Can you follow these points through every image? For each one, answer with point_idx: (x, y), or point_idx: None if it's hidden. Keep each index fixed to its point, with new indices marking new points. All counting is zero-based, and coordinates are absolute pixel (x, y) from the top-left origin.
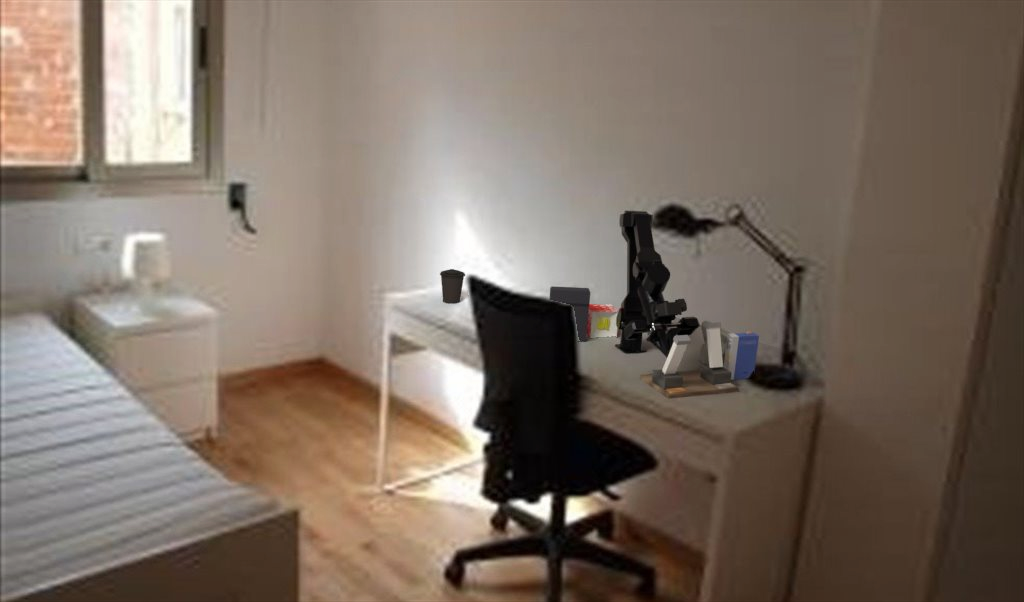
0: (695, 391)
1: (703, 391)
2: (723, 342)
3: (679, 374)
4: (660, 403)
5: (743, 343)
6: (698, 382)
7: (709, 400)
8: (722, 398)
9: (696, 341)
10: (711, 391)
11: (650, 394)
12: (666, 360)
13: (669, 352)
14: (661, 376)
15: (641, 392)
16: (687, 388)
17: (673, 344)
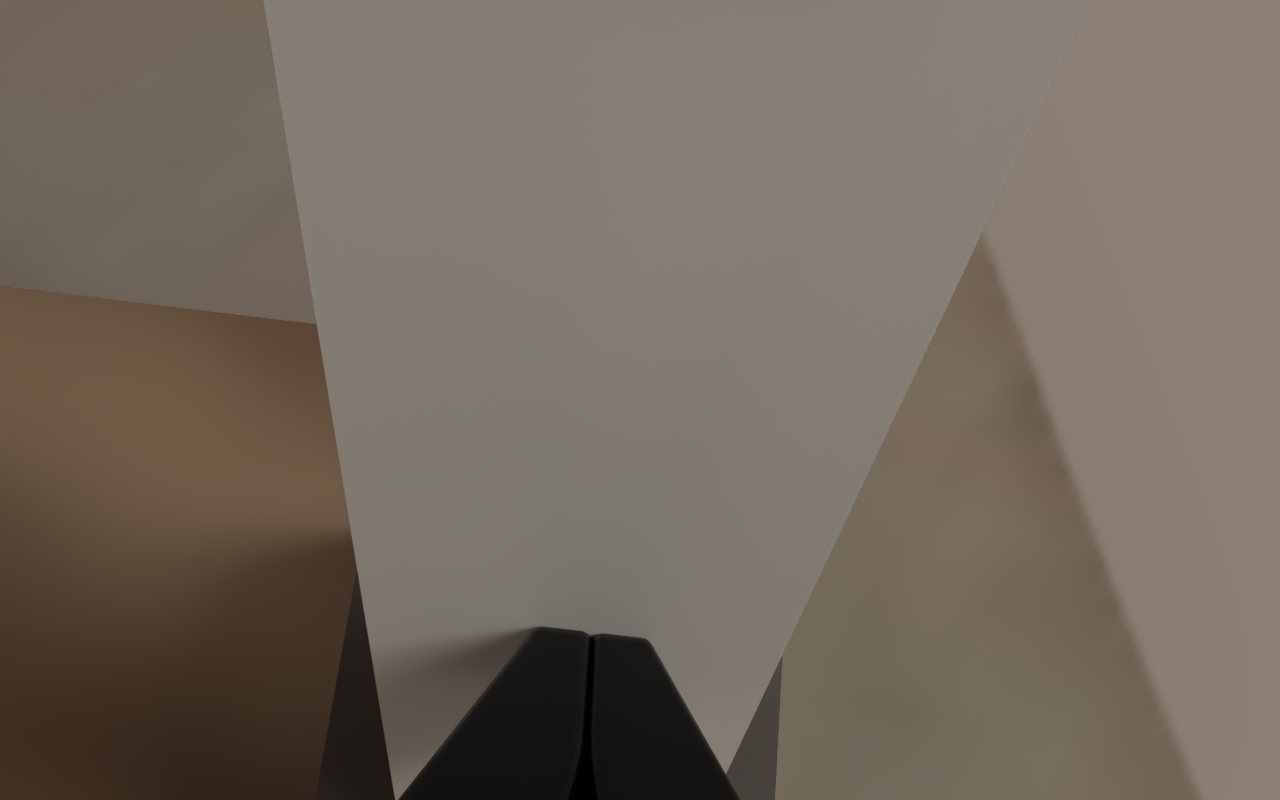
0: (296, 335)
1: (160, 306)
2: None
3: (355, 624)
4: (978, 292)
5: None
6: None
7: (254, 143)
8: (13, 134)
9: None
10: (13, 293)
11: (942, 625)
12: (758, 685)
13: (850, 504)
14: (775, 693)
15: (1037, 749)
16: (325, 485)
17: (1042, 35)
